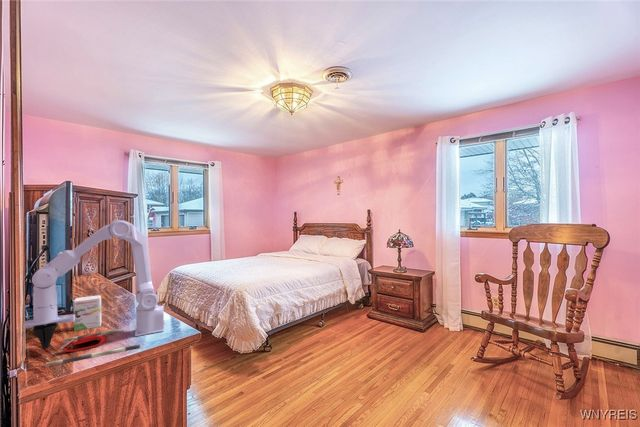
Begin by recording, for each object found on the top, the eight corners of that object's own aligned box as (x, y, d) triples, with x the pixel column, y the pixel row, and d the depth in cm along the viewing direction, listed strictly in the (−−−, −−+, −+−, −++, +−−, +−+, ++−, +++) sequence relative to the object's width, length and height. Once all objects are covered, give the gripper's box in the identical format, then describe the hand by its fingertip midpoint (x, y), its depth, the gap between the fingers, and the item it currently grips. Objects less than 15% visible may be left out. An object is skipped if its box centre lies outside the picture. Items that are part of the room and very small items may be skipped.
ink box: (73, 331, 116) (72, 300, 116) (75, 327, 120) (75, 298, 120) (100, 326, 120) (100, 297, 120) (101, 322, 125) (101, 294, 125)
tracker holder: (84, 337, 108) (111, 329, 109) (85, 349, 107) (113, 341, 108) (55, 343, 96) (86, 334, 97) (56, 357, 95) (87, 348, 96)
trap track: (141, 327, 119) (141, 325, 119) (139, 347, 100) (139, 345, 100) (63, 340, 107) (63, 338, 107) (45, 366, 89) (45, 364, 89)
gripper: (76, 299, 104) (77, 338, 104) (19, 306, 97) (20, 348, 97) (71, 304, 98) (72, 345, 98) (10, 312, 90) (11, 357, 90)
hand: (46, 347), depth 97 cm, fingers closed
